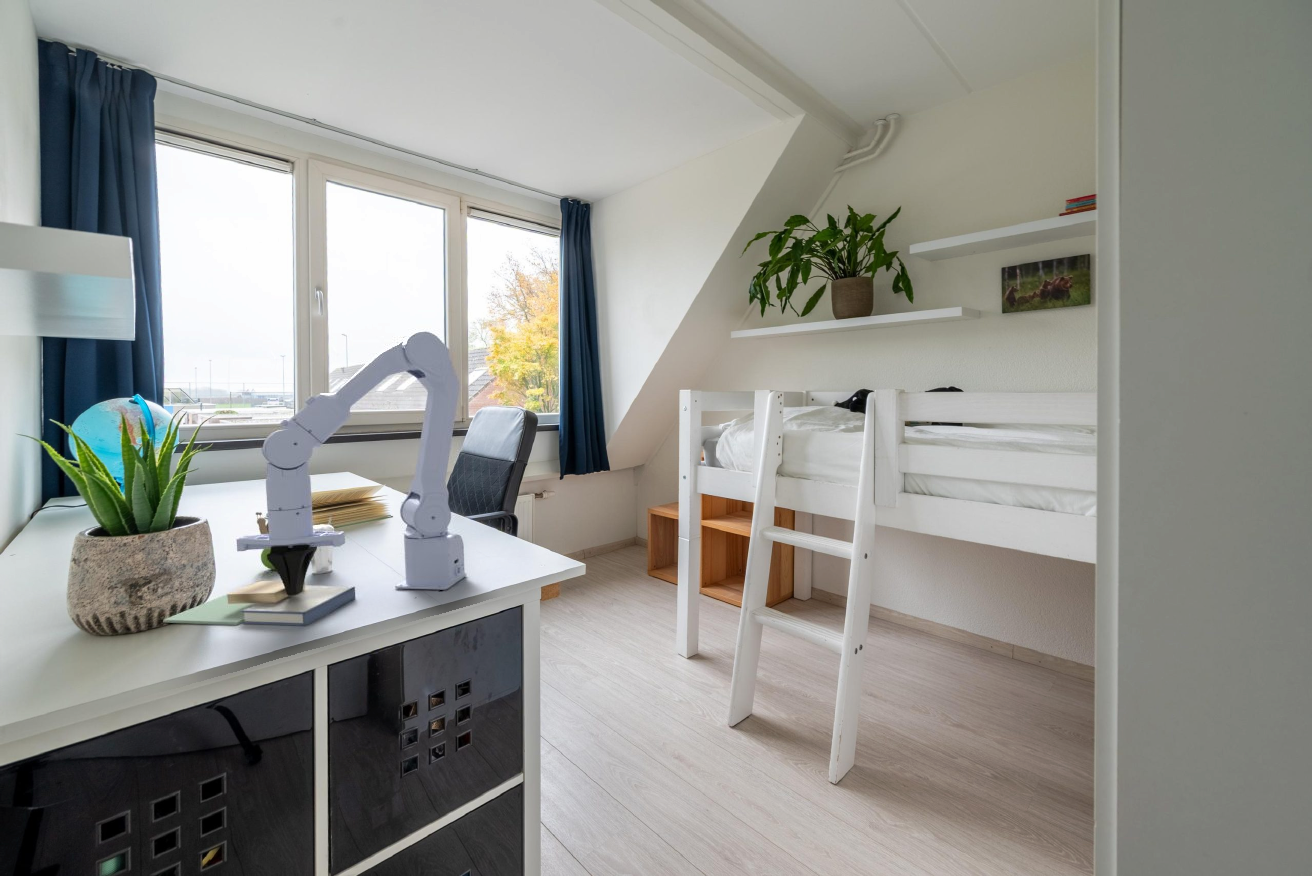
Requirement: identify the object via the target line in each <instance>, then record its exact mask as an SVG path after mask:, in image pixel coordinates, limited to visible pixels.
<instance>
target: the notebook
mask: <svg viewBox="0 0 1312 876" xmlns="http://www.w3.org/2000/svg"><path fill="white" fill-rule="evenodd" d="M355 599H356V587H355V586H353V585H352V586H350V585H349V586H348V585H347V586H346V585H345V586H343V585H342V586H339V585H310V584H305V589H304V590H303V591H302V592H300V593H299V594H297V595H291V596H289V597H287V598H284V599H282V600H280V601H278V602H274V603H258V604H256V605H253V606H251V607H249V608H247V609H244V610H242V612H244V619H245V621H243V622H242V624H243V625H246V624H247V625H266V626H267V625H268V626H270V625H271V626H278V625H279V626H293V627H294V626H297V627H299V626H301V627H306V626H308V625H310V624H312V623H314V622H316V621H317V620H319V619H321V618H323V617H324V616H326V615H328V614H330V613H331V612H334V611H335V610H337V609H339V608H341V607H342V606H344V605H346V604H348V603H350V602H352V601H353V600H355Z"/></svg>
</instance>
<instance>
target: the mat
mask: <svg viewBox="0 0 1312 876" xmlns="http://www.w3.org/2000/svg"><path fill="white" fill-rule="evenodd" d="M256 604H258V603H243V604H228V598H227V594H225V595H222V596H220V597H217V598H215V599H213V600H209V601H207V602H204V603H202V604H199V605H198V606H197V605H196V606H194V607H192V608H189V609H187V610H184V611H182V612H179V613H176V614H174V615H172V616H169V617H167V618H164V619H163V623H165V624H166V623H172V624H173V623H174V624H175V623H176V624H197V625H198V624H199V625H200V624H202V625H226V626H227V625H228V626H233V625H234V626H238V625H240V624H243V621H245V619H244V612H242V610H244V609H247V608H249V607H251V606H253V605H256Z"/></svg>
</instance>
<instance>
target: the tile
mask: <svg viewBox="0 0 1312 876" xmlns="http://www.w3.org/2000/svg"><path fill="white" fill-rule="evenodd" d="M305 585H306V581H305V580H304V585H303V590H304V589H305ZM226 595H227V598H228V604H243V603H274V602H278V601H280V600H282V599H284V598H287V597H289V596H291V595H289V596H288V595H287V593H286V590H285V587H284V584H283V582H282V580H261V581H256V582H254V583H252V584H249V585H247V586H244V587H242V588H239V589H237V590H234V591H232V592H230V593H226Z"/></svg>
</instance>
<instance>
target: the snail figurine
mask: <svg viewBox="0 0 1312 876" xmlns="http://www.w3.org/2000/svg"><path fill="white" fill-rule="evenodd" d="M255 515H256V518H257V520H256V524H257V525H258V530H259V532H260V535H263V534H269V526H268V522H267V524H266V521H267V520H266V519H265V517H261V515H263V512H261V511H257V512H255ZM258 516H259V518H258ZM270 551H271V549H262V551H261V554H260V560H261V563H262V564H263V566H264V567H265V568H267V569H269V570H274V571H276V569H275V568H274V567H273V565H272V564H271V563H270V562H269V561H268V560H267V554H269V553H270Z"/></svg>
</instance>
